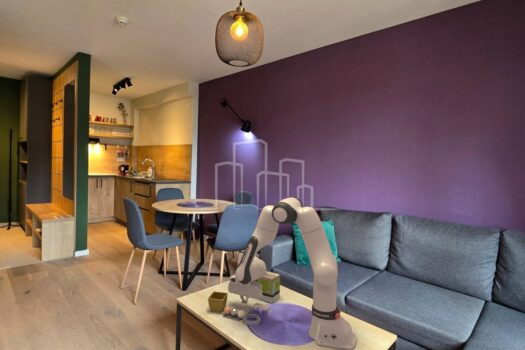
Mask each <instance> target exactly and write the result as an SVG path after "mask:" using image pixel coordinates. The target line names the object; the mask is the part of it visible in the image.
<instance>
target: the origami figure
mask: <svg viewBox="0 0 525 350" xmlns="http://www.w3.org/2000/svg"><path fill="white" fill-rule="evenodd" d="M256 307H257V308H258V309H260V310H259V314H260V315H262V311H265V312H268V316H267V317H270V308H271V307H270V306H269V305H268V303H256V302H255V303H254V304H253V308H254V310H255V311H256V310H257V309H256Z"/></svg>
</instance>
